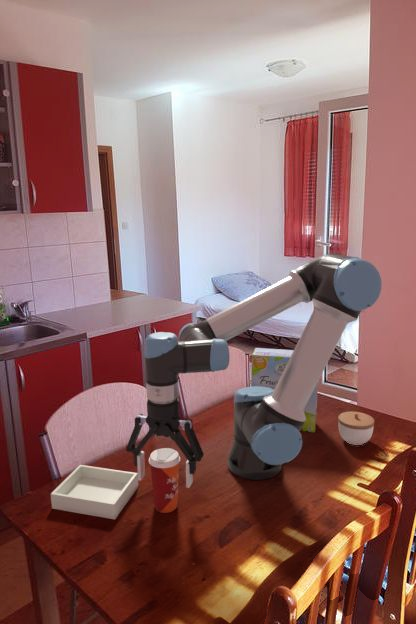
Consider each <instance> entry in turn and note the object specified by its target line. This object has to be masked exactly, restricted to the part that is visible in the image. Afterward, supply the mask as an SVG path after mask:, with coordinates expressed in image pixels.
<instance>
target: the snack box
mask: <svg viewBox="0 0 416 624" xmlns="http://www.w3.org/2000/svg"><path fill="white" fill-rule="evenodd" d="M293 351H294V349H282V348H280V349H277V348H265V347H254V350H253V353H252V354H251V371H250V372H251V380H250V381H251V383H250V384H251V385H250V387H253V386H260V387H268V388H271V389H273V390H274V389H275V387H276V385H277V383H278V381H279V379H280V377H281V375H282V373H283V371H284V369H285V367H286V365H287V363H288V361H289V359H290V357H291V355H292V353H293ZM318 388H319V382H318V383H317V385H316V387H315V389H314V391H313V392H312V394H311V396H310V398H309V400H308V402H307V404H306V406H305V408H304V414H305V417H306V420H305V422H304V424H303V426H302V428H301V430H300V432H305V431H308V432H307V433H316V425H317V424H316V422H317V408H318V407H317V406H318V390H319V389H318Z"/></svg>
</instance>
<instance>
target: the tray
mask: <svg viewBox="0 0 416 624" xmlns="http://www.w3.org/2000/svg"><path fill="white" fill-rule="evenodd" d="M138 488H139V480H138V472H133V471H127V470H126V471H124V470H118V469H111V468H105V467H99V466H91V465H86V464H85V465H84V464H79V465H78V466H77V467H76V468H75V469H74V470H73V471H72V472H71V473H70V474H69V475H68V476H66V478H65V479H64V480H63V481H62V482H61V483H60V484H59V485H58V486H57V487H56V488H55V489H54V490H53V491H52V492H51V493H50V501H51V509H54V510H58V511H64V512H70V513H76V514H82V515H86V516H87V515H88V516H92V517H99V518H105V519H111V520H116V519H117V517H118V516H119V515H120V513H121V512H122V510H123V509H124V508H125V506H126V505H127V503H128V502H129V500H130V499H131V498H132V496H133V495H134V494H135V492H136V491H137V489H138Z"/></svg>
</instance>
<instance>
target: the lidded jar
mask: <svg viewBox="0 0 416 624" xmlns="http://www.w3.org/2000/svg"><path fill="white" fill-rule="evenodd" d="M337 418H338V423H337V424H338V431H339V434H340V436H341V438H342V439H343V440H344V442H345V441H346V442H347V443H349V444H353V445H362V444H364V443H365V444H366V443H368V442H369V441H370V440H371V437H372V435H373V432H374V426H375V419H374V417H372V416H371V415H369V414H367V413H363V412H360V411H345V412H342V413H340V414H338V417H337ZM346 442H345V443H346ZM347 443H346V444H347ZM349 444H348V445H349ZM365 444H364V445H365ZM353 445H352V446H353ZM362 446H363V445H362Z"/></svg>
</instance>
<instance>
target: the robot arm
mask: <svg viewBox="0 0 416 624" xmlns="http://www.w3.org/2000/svg"><path fill="white" fill-rule="evenodd" d="M382 286H383V285H382V278H381V275H380V272H379V270H378V269H377V266H375V265H374V264H372V263H371V262H370V261H368V260H367V259H366V260H365V259H364V258H361V257H358V256H349V255H344V254H341V253H333V252H332V253H331V252H330V253H327V254H323V255H319V256H318V257H315V258H314V259H311V260H309V261H307V262H306V263H304V264H301V265H300V266H298V267H296V268H294V269H292V270H291V271H290V272H289V274H288V276H287V277H285V278H283V279H281V280H280V281H278V282H276V283H273V284H272V285H270V286H267V287H266V288H264V289H262V290H260V291H258V292H256V293H254V294H253V295H250V296H249V297H246V298H245V299H242V300H240V301H239V302H237V303H235V304H233V305H231V306H229V307H228V308H225V309H224V310H222V311H219V312H217V313H216V314H214V315H212V316H210V317H208V318H206V319H204V320H202V321H200V322H198V323H193V322H192V323H190V322H189V323H186V324H185V325H183V327H182V328H181V329H180V330H179V333H178V335H176V334H175V333H173V332H168V331H167V332H164V331H157V332H152V333H150V334H148V335H147V336H146V337H145V339H144V365H145V366H144V368H145V390H146V391H145V392H146V414H147V415H144V414H143V413H138V414H137V416H135V418H134V426H133V429H132V432H131V434H130V438H129V439H128V443H127V445H126V447H125V451H126V452H127V453H132V455H133V465H134V467H137V473H138V482H139V481H142V480H143V479H144V477H145V476H146V463H145V462H146V461H145V451H143V448H144V447H145V445H146V444H147V442H149V440H151V437H152V436H153V435H156V437H161V436H163V437H164V438H169V437H170V439H171V440H172V441H173V442H174V443H175V444H176V446H177V447H178V448H179V449H180V451H181V453H183V455H184V457H185V458H186V459H187V460H186V462H185V488H186V489H190V487H191V486H192V484H193V481H194V480H193V475H194V474H195V473H196V471H197V463H198V462H201V461H202V459H203V457H204V455H205V454H204V452H203V449H202V447H201V444H200V441H199V440H198V438H197V437H198V436H197V435H196V432H195V430H194V425H193V419H191V418H188V419H187V420H185V419H184V420H182V419H181V418H180V401H179V396H180V395H179V375H180V374H192V373H193V374H194V373H195V374H196V373H197V374H198V373H208V372H209V373H214V372H218V371H219V372H220V371H225V370H226V369H228V368H229V364H230V348H229V344H228V342H227V341H229V340H230V339H233V338H234V337H236V336H239V335H241V334H242V333H244V332H246V331H249V330H250V329H252V328H254V327H256V326H258V325H259V324H261V323H263V322H266V321H267V320H269V319H271V318H273V317H275V316H277V315H279V314H281V313H283V312H285V311H287V310H288V309H290V308H292V307H295V306H296V305H298V304H300V303H306V304H308V303H310V302H312V303H313V306H314V307H313V308H314V309H313V311H312V313H311V314H310V317H309V318H308V321H307V322H306V325H305V327H304V330H303V331H302V332H301V335H300V338H299V339H298V342H297V343H296V345H295V346H294V347H295V348H294V349H293V350H294V351H293V353H292V355H291V357H290V359H289V361H288V363H287V365H286V367H285V369H284V371H283V373H282V375H281V377H280V379H279V381H278V383H277V385H276V387H275V389H274V390H273V389H271V388H268V387H260V386H253V387H251V386H246V387H245V386H244V387H242V388H239V389H237V390H236V391H235V392H234V397H233V399H234V400H233V408H234V409H233V410H234V411H233V412H234V413H233V417H234V421H233V426H234V427H233V428H234V429H233V434H234V435H233V438H234V439H233V442H232V444H231V448H230V451H229V454H228V458H227V467H228V469H229V470H230V472H231V473H232V474H234V475H235V476H237V477H239V478H242V479H245V480H253V481H257V480H259V481H260V480H267V479H271V478H274V477H275V476H276V475H278V474H279V473H280V471H281V470H282V465H283V464H285V463H289V462H290V461H292V460H294V459H296V457H297V456H298V455H299V454H300V452H301V450H302V447H303V439H302V438H303V437H302V433H301V431H300V430H301V428H302V426H303V424H304V422H305V420H306V417H305V414H304V408H305V406H306V404H307V402H308V400H309V398H310V396H311V394H312V392H313V391H314V389H315V387H316V385H317V383H318V384H319V381H320V380H321V377H322V374H323V372H324V371H325V369H326V367H327V365H328V363H329V360H331V357H332V356H333V353H334V351H335V349H336V348H337V345H338V344H339V341H340V339H341V337H342V335H343V333H344V331H345V329H346V328H347V326H348V324H349V323H352V322H353V323H354V322H356V321H357V320H358V318H359V316H360V315H361V313H362V311H365V310H366V309H368V308H371V307H373V306H374V305H375V304H376V302H377V301H378V299H379V297H380V295H381V291H382ZM145 423H146V424H147V426H148V427H149V430H148V431H147V433H145V436H143V438H142V440H141V441H140V442H139V443H138V445H136V443H137V440H138V437H139V435H140V433H141V430H142V428H143V425H144V424H145ZM179 427H181V428H182V430H180V428H179ZM182 431H184V435H185V437H186V438H185V437H184V436H183V434H182ZM186 439H187V440H186Z"/></svg>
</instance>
